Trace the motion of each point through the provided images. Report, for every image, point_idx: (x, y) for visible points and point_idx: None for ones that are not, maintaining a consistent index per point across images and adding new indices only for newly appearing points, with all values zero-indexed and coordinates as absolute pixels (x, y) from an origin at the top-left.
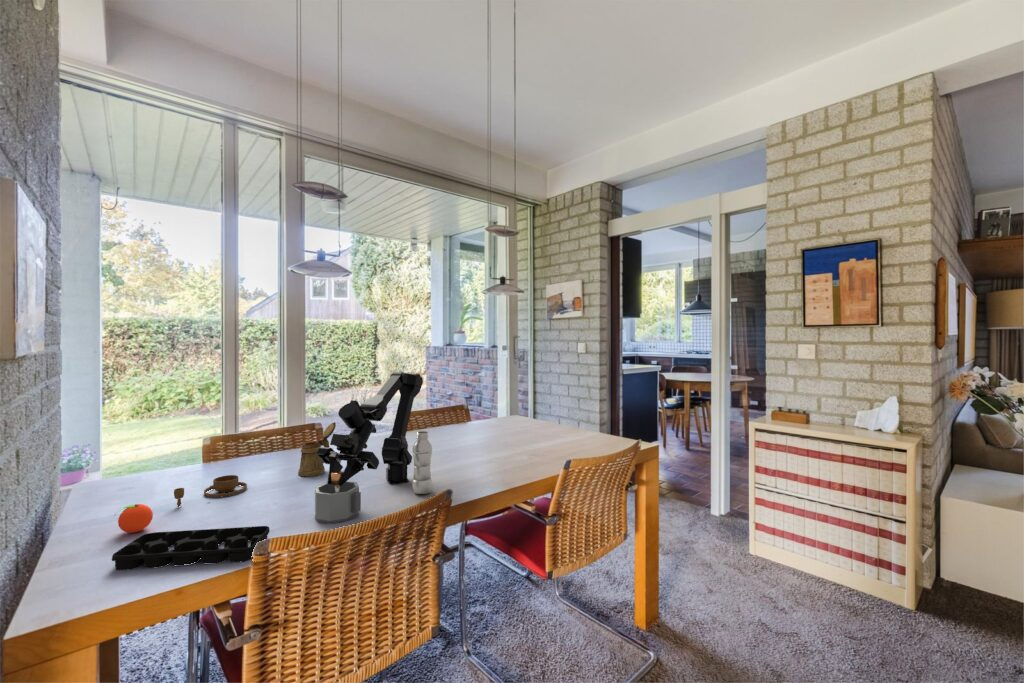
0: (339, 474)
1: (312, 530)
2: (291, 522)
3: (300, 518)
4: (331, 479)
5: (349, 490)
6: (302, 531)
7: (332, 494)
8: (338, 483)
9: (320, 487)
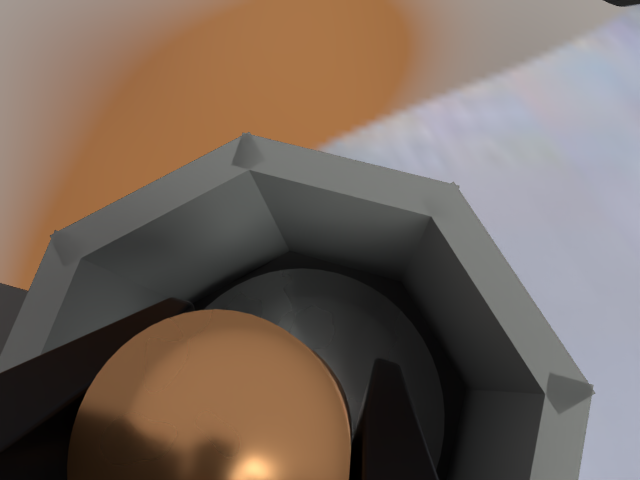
0: (124, 350)
1: (370, 131)
2: (603, 248)
3: (579, 325)
4: (322, 360)
5: (53, 292)
6: (430, 113)
7: (225, 144)
8: (181, 302)
9: (532, 440)
